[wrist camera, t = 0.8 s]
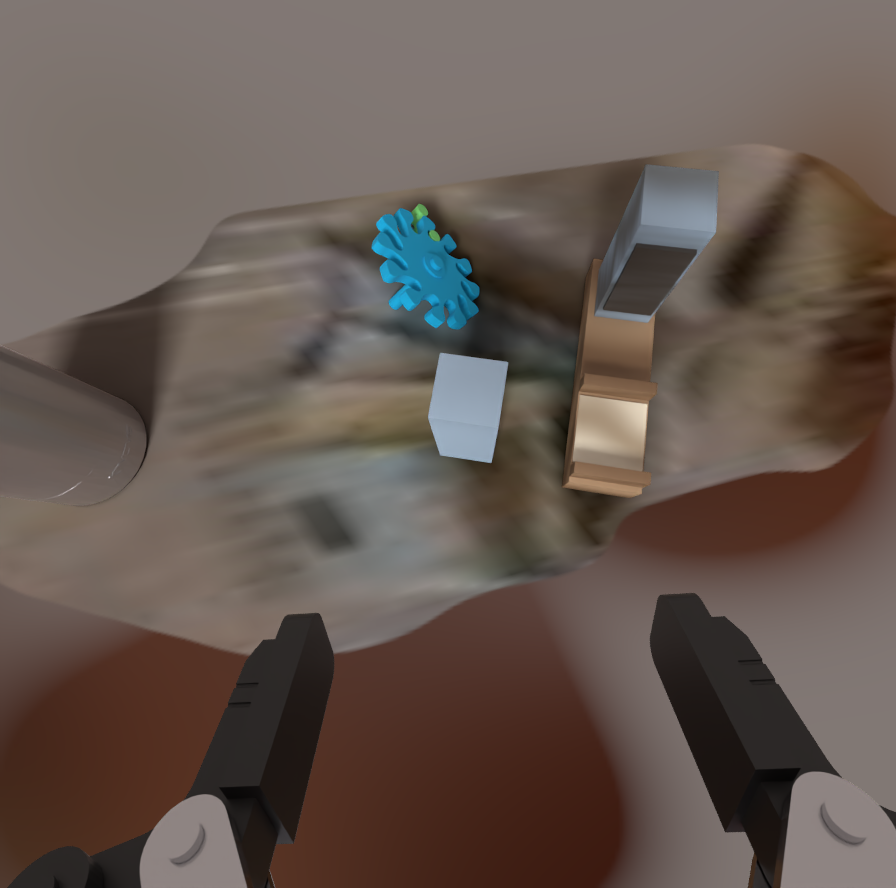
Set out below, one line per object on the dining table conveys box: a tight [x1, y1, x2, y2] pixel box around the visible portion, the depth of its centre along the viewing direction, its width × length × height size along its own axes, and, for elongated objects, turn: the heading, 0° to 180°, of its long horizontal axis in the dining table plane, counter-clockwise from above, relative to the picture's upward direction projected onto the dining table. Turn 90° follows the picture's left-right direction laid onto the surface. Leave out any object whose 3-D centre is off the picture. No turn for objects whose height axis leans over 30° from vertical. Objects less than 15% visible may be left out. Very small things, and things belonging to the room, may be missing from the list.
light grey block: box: [428, 353, 508, 463], centre depth 31 cm, size 4×4×10 cm
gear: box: [372, 204, 479, 329], centre depth 37 cm, size 11×6×10 cm
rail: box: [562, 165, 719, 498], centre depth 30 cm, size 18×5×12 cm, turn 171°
